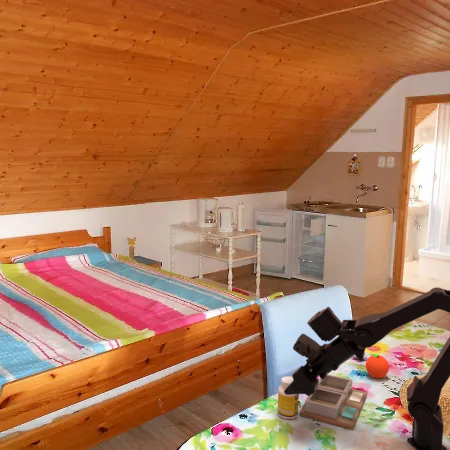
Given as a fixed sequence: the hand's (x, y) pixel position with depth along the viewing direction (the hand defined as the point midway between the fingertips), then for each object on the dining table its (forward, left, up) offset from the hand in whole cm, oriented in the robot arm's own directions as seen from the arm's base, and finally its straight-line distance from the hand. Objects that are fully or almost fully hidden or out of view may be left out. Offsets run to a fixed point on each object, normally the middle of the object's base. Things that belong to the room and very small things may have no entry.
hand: (290, 385), depth 125 cm
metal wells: (+2, -13, -7) cm, 15 cm away
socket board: (+1, -14, -8) cm, 16 cm away
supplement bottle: (0, 0, -9) cm, 9 cm away
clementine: (+12, -35, -9) cm, 38 cm away
